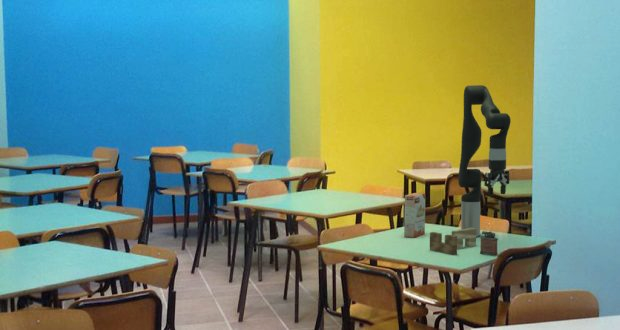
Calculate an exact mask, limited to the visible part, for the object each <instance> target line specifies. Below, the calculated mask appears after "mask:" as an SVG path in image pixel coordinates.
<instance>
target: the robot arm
mask: <svg viewBox="0 0 620 330" xmlns="http://www.w3.org/2000/svg"><path fill="white" fill-rule="evenodd" d="M478 105H479V106H480V105H481V106H480V112H481V114H482V115H483V117H484V120H485V126H486V127H487V128H488V129H489V130H499V132H498V133H496V134H492V135H490V136H489V146H488V147H489V151H488V169H489V170H490V172H485V173H484V183H483V186H484V187H486V188H487V195H488V196H489V197H493V196H494V186H495V184H496V183H499V184H500V193H499V194H500V195H506V192H507V185H509V184H510V170H506V169H507V148H506V147H507V138H508V137H507V136H508V132H509V129H510V126H511V117H510V115H509V114H508V113H506V112H505V113H504V112H503V113H501V111H500V109H499V108H498V107H497V106H496V104H495V102H494V101H493V98H492V95H491V93H490V91H489V88H488V87H487V86H485V85H482V84H478V85H477V84H476V85H475V84H474V85H467V86H465V87H464V89H463V117H462V119H463V121H462V131H461V132H462V133H461V151H460V152H461V153H460V163H459V169H458V181H457V182H458V185H459V187H460V188H466V189H467V188H472V190H470V191H469V192H467V193H465V194H462V195H461V198H460V199H461V201H460V203H461V204H460V206H461V211H460V213H461V214H460V215H461V217H460V220H461V221H460V222H461V223H460V224H461V225H460V230H461V229H467V228H476V238H477V237H480V236H481V194H482V191H481V190H482V172H481V170H480V169H479V168H468V167H469V163H470V161H471V160H472V158H473V156H474V155H475V154H476V153H477V152H478V151H479V149H480V147H481V145H482V135H483V134H482V129H481V127H480V124H479V123H478V121H477V120H476V118H475V116H474V114H473V111H472V110H473V109H472V108H473V107H472V106H478Z"/></svg>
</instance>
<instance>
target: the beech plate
mask: <svg viewBox="0 0 620 330" xmlns="http://www.w3.org/2000/svg"><path fill="white" fill-rule="evenodd" d="M451 235H454V236H457V250H459V249H463V248H464V247H474V246H475V247H476V246H477V237H476V228H467V229H461V228H460V229H457V230H455V229H454V230H451Z"/></svg>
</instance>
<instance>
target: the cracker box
mask: <svg viewBox="0 0 620 330" xmlns="http://www.w3.org/2000/svg"><path fill="white" fill-rule="evenodd" d="M403 221H404V224H403V225H404V228H403V229H404V231H403V233H404V234H403V236H404V238H412V239H414V238H415V239H416V238H417V237H420V236H423V235H425V232H426V231H425V230H426V229H425V228H426V193H424V192H413V193H409V194H405V195H404V220H403Z"/></svg>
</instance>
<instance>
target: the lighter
mask: <svg viewBox="0 0 620 330" xmlns="http://www.w3.org/2000/svg"><path fill="white" fill-rule="evenodd" d="M481 234H482V235H480V236H479V238H480V251H479V254H481V255H486V256H493V257H494V256H495V257H496V256H499V255H498V239H499V237H496V232H492V231H485V230H482V231H481Z"/></svg>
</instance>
